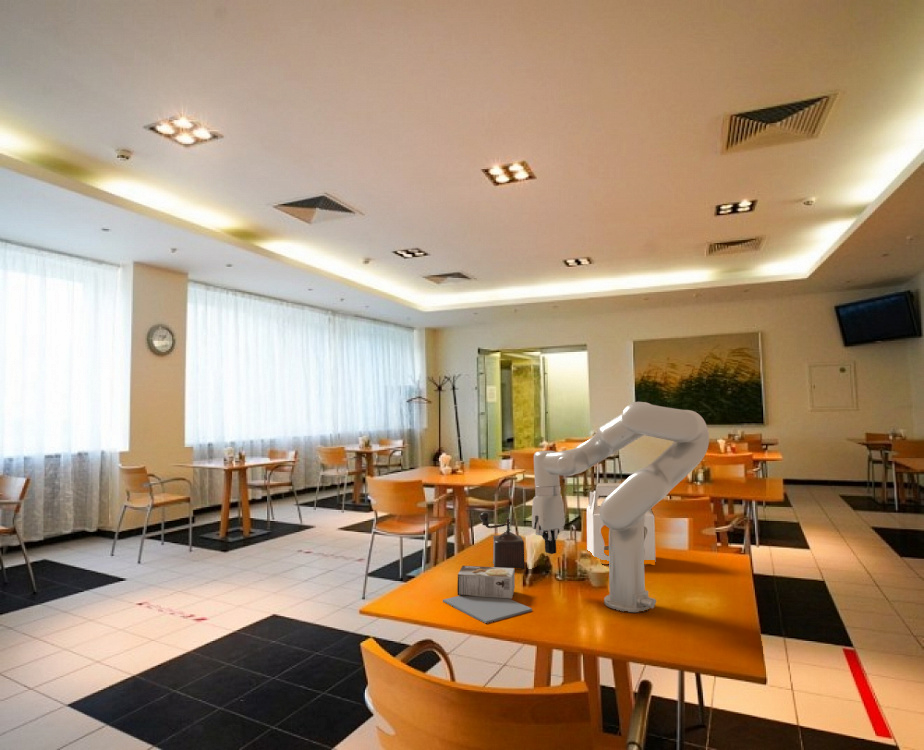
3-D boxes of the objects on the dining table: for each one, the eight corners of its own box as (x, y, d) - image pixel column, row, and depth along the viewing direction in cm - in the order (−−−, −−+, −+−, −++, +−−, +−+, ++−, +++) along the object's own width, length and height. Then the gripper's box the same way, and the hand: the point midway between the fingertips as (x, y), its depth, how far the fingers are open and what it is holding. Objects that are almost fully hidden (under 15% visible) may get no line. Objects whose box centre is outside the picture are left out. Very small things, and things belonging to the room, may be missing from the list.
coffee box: (514, 589, 165) (462, 586, 168) (514, 567, 166) (462, 564, 169) (512, 599, 156) (456, 595, 159) (511, 576, 157) (457, 573, 160)
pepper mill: (521, 560, 200) (520, 510, 201) (525, 569, 189) (524, 516, 190) (478, 560, 200) (478, 510, 201) (480, 569, 188) (480, 516, 190)
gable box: (593, 564, 195) (591, 485, 197) (586, 555, 208) (585, 480, 210) (656, 565, 194) (654, 485, 196) (645, 555, 207) (644, 481, 209)
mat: (532, 610, 149) (532, 608, 149) (485, 623, 140) (485, 621, 140) (487, 591, 165) (487, 589, 165) (442, 601, 156) (442, 599, 156)
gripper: (556, 488, 175) (559, 547, 173) (521, 493, 166) (524, 555, 165) (573, 490, 169) (577, 550, 167) (538, 495, 160) (541, 559, 158)
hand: (550, 552), depth 166 cm, fingers closed
